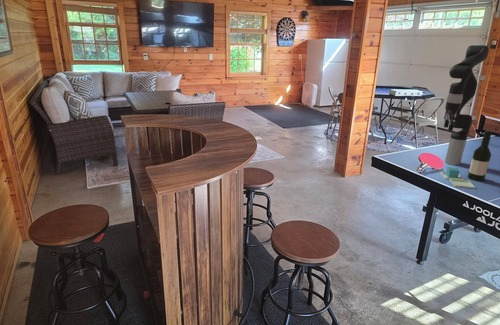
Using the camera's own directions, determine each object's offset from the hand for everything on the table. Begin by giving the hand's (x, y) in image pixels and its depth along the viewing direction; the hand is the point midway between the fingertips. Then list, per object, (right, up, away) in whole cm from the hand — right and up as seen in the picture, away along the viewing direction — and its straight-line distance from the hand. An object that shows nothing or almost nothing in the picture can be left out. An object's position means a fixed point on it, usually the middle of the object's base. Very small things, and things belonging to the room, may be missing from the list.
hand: (447, 129), depth 194 cm
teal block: (+4, -28, +3) cm, 29 cm away
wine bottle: (+17, -30, +1) cm, 34 cm away
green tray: (+3, -33, -8) cm, 34 cm away
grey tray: (+4, -29, +3) cm, 29 cm away
